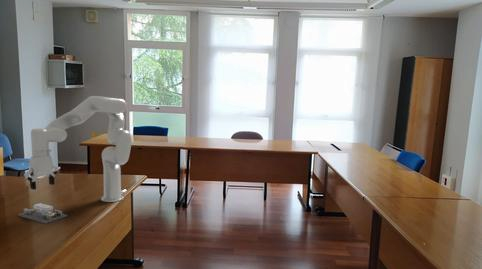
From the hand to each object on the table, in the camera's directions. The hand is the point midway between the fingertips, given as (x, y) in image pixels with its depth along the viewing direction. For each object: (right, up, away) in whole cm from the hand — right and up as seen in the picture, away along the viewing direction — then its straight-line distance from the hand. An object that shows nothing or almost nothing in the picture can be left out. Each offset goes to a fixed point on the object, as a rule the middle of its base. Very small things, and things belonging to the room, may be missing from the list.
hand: (42, 186), depth 173 cm
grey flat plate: (-1, -15, +1) cm, 15 cm away
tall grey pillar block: (0, -15, +1) cm, 15 cm away
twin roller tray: (-1, -15, +1) cm, 15 cm away
